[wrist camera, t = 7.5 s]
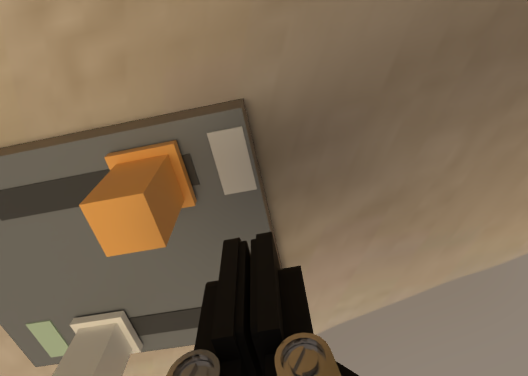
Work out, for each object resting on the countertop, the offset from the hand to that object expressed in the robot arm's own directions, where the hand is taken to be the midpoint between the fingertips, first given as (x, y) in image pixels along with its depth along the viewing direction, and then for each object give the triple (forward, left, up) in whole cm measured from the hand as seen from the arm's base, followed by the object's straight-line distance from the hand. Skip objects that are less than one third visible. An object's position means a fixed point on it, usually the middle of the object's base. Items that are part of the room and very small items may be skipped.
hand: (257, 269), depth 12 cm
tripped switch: (+6, 0, -9) cm, 11 cm away
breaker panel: (+11, +6, -11) cm, 17 cm away
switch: (+14, +12, -9) cm, 20 cm away
